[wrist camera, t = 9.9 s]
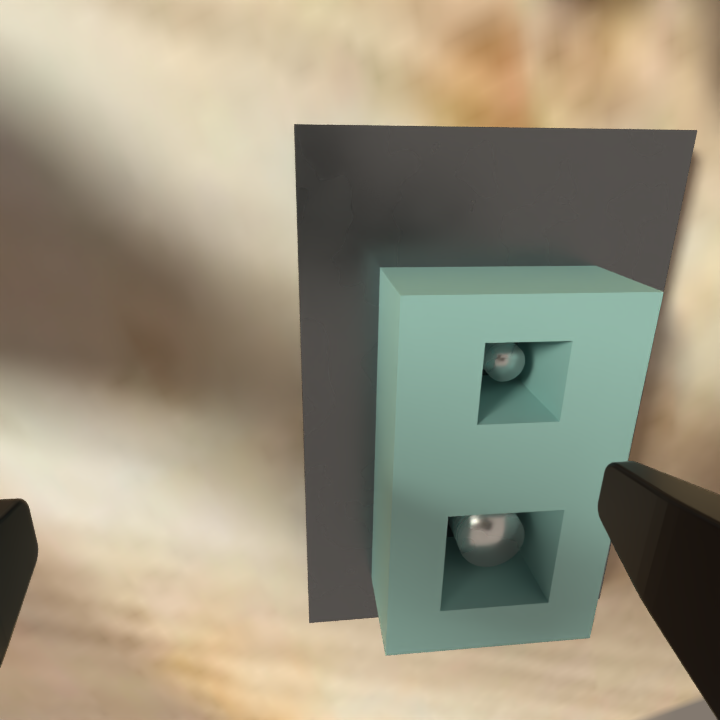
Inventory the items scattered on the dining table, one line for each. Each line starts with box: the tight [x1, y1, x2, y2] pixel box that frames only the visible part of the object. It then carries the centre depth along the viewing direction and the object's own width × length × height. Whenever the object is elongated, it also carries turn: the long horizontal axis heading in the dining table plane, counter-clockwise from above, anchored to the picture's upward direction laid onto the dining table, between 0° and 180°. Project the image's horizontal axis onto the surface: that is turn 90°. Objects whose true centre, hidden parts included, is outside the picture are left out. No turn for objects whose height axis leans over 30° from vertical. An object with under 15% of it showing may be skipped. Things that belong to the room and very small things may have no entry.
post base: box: [294, 124, 697, 623], centre depth 19 cm, size 12×18×4 cm, turn 0°
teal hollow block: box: [372, 266, 664, 655], centre depth 18 cm, size 12×7×4 cm, turn 179°
